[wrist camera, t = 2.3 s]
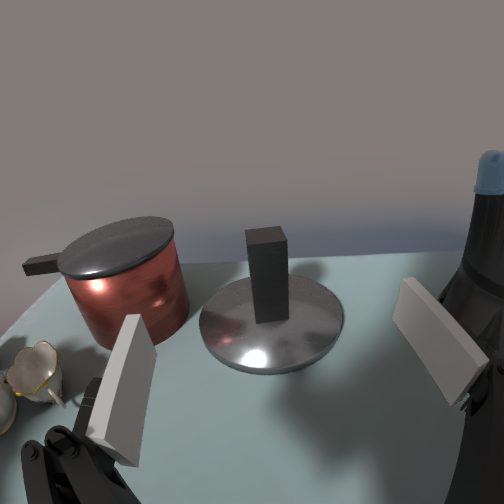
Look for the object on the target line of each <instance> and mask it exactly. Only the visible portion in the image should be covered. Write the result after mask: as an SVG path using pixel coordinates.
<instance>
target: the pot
mask: <svg viewBox="0 0 504 504" xmlns="http://www.w3.org/2000/svg"><path fill="white" fill-rule="evenodd" d="M173 237H174V228H173V224H172V222H171V221H169V220H168V219H165V218H162V217H151V216H149V217H137V218H131V219H126V220H122V221H118V222H114V223H111V224H108V225H105V226H103V227H100V228H98V229H95V230H93V231H91V232H89V233H87V234H85V235H83V236H81V237H80V238H78V239H77V240H75V241H74V242H72V243H71V244H70V245H68V246H67V247H66V248H65V249H64V250H63V251H62V252H61V253H55V254H49V255H44V256H38V257H34V258H29V259H28V260H27V261H26V262H25V263H24V264H23V265H22V267H23V269H24V271H25V274H26V276H32V275H40V274H48V273H56V272H60V273H61V274H62V275H63V276H64V277H65V280H66V282H67V284H68V287H69V289H70V291H71V293H72V295H73V298H74V300H75V302H76V304H77V306H78V308H79V310H80V312H81V314H82V316H83V318H84V320H85V322H86V324H87V326H88V328H89V330H90V332H91V333H92V335H93V337H94V339H95V340H96V342H97V343H98V344H99V345H101V346H102V347H104V348H106V349H108V350H111V351H113V348H114V345H115V343H116V340H117V337H118V335H119V332H120V330H121V327H122V325H123V322H124V320H125V318H126V315H132V314H141V316H142V319H143V321H144V324H145V326H146V329H147V331H148V334H149V336H150V338H151V341H152V343H153V345H154V346H155V345H157V344H159V343H161V342H163V341H164V340H166V339H167V338H169V337H170V336H171V335H173V334H174V333H175V332H176V331H177V330H178V329H179V328H180V327H181V326H182V325H183V323H184V322H185V320H186V318H187V316H188V313H189V308H190V304H189V299H188V296H187V292H186V288H185V284H184V280H183V276H182V272H181V268H180V264H179V260H178V256H177V251H176V247H175V243H174V238H173Z"/></svg>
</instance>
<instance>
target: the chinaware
mask: <svg viewBox="0 0 504 504" xmlns="http://www.w3.org/2000/svg"><path fill="white" fill-rule="evenodd" d="M59 360H60V355H59V354H58V352H57V350H55V349H54V348H53V347H52V346H51V345H50V343H48V342H46V341H41V342H38V343H37V344H36V345H35V346H34V349H33V347H26V348H23V349H22V350H19V352H18V353H17V354H16V356H15V359H14V366H11V367H10V368H9V369H8V370H7V373H6V377H5V376H4V374H3V372H2V371H1V370H0V436H1V435H3V434H5V433H6V432H7V431H8V430H9V429H10V428H11V426H12V425H13V423H14V421H15V418H16V415H17V409H18V405H17V400H16V397H15V395H14V393H15V394H16V395H17V396H25V397H26V398H28V399H29V400H31V401H34V402H39V403H44V402H49V403H53V404H55V402H56V403H57V404H60V405H61V406H62V407H63V408H66V405H65V404H64V403H63V402H62V399H61V398H60V397H61V396H63V395H62V390H61V387H62V371H61V368H60V365H59ZM13 392H14V393H13Z"/></svg>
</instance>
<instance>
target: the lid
mask: <svg viewBox="0 0 504 504" xmlns="http://www.w3.org/2000/svg"><path fill="white" fill-rule="evenodd" d="M245 235H246V245H247V254H248V264H249V273H250V277H247V278H244V279H240V280H238V281H235V282H233V283H231V284H229V285H227V286H225V287H223V288H221V289H220V290H219V291H217V292H216V293H215V294H214V295H212V296H211V297H210V298H209V300H208V301H207V302H206V303H205V305H204V307H203V308H202V311H201V313H200V318H199V327H200V332H201V335H202V339H203V342H204V344H205V346H206V348H207V349H208V351H209V352H210V353H211V354H212V355H213V356H214V357H215V358H216V359H217V360H219V361H220V362H221V363H223V364H225V365H226V366H228V367H230V368H233V369H235V370H238V371H241V372H245V373H249V374H256V375H278V374H285V373H290V372H294V371H297V370H300V369H303V368H305V367H307V366H310V365H312V364H314V363H315V362H317V361H318V360H320V359H321V358H322V357H324V356H325V355H326V354H327V353H328V352H329V351H330V350H331V349H332V347H333V346H334V345H335V343H336V341H337V339H338V337H339V334H340V330H341V324H342V310H341V306H340V304H339V302H338V300H337V298H336V297H335V296H334V295H333V294H332V292H331V291H329V290H328V289H327V288H326V287H324V286H323V285H321V284H319V283H317V282H315V281H313V280H310V279H307V278H304V277H300V276H295V275H289V274H288V250H287V249H288V247H287V239H286V237H285V235H284V233H283V231H282V229H281V227H280V226H276V227H267V228H258V229H250V230H245Z"/></svg>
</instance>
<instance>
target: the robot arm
mask: <svg viewBox="0 0 504 504" xmlns="http://www.w3.org/2000/svg"><path fill="white" fill-rule="evenodd" d="M474 192H475V201H474V207H473V212H472V218H471V223H470V228H469V233H468V237H467V241H466V246H465V250H464V254H463V258H462V262H461V265H460V267H459V268H458V270H457V271H456V273H455V274H454V276H453V277H452V279H451V280H450V282H449V283H448V285H447V286H446V287H445V289H444V290H443V292H442V293H441V294H440V296H439V298H438V300H436V299H435V298H434V297H433V296H432V295H431V294H430V293H429V292H428V291H427V290H426V289H425V288H424V287H423V286H422V285H421V284H420V283H419V282H418V281H417V280H416V279H415V278H414V277H409V278H404V279H402V283H401V287H400V291H399V295H398V299H397V303H396V307H395V311H394V314H393V318H392V320H393V321H394V323H395V324H396V325H397V327H398V328H399V330H400V331H401V332H402V334H403V335H404V336H405V338H406V339H407V341H408V342H409V344H410V345H411V346H412V348H413V349H414V351H415V352H416V354H417V355H418V357H419V358H420V359H421V361H422V362H423V364H424V365H425V367H426V368H427V370H428V371H429V373H430V375H431V376H432V378H433V379H434V381H435V382H436V384H437V385H438V387H439V389H440V390H441V392H442V393H443V395H444V397H445V398H446V400H447V401H448V403H449V405H450V406H453V405H454V404H456V403H458V402H459V401H461V400H462V399H463V398H464V397H465V395H466V394H467V393H469V395H470V397H469V398H468V399H467V400H466V402H465V403H464V404H463V405H462V407H461V409H460V411H462V410H463V409H464V408H465V406H466V405H467V408H466V409H465V411H466V418H465V425H464V431H463V437H462V442H461V447H460V452H459V456H458V461H457V465H456V469H455V472H454V476H453V480H452V483H451V486H450V489H449V492H448V495H447V498H446V501H445V504H504V151H497V150H496V151H495V150H490V151H487V152H485V153H484V154H483V155H482V156H481V158H480V160H479V166H478V174H477V181H476V185H475V186H474ZM156 357H157V352H156V350H155V348H154V345H153V343H152V341H151V338H150V336H149V334H148V331H147V329H146V326H145V324H144V321H143V319H142V316H141V314H132V315H126V318H125V320H124V322H123V325H122V327H121V330H120V332H119V335H118V337H117V340H116V343H115V345H114V348H113V351H112V353H111V356H110V359H109V362H108V364H107V367H106V370H105V373H104V376H103V378H93V380H92V381H91V382H90V383H89V385H88V386H87V388H86V391H85V394H84V398H83V399H82V402H81V406H80V408H79V412H78V415H77V418H76V421H75V424H74V428H73V431H72V432H71V431H70V430H69V429H68V428H66V427H64V426H60V425H58V426H54V427H52V428H51V429H50V430H48V432H47V434H46V435H45V440H44V442H45V446H42V445H41V444H40V443H39V442H37V441H35V440H30V441H27V442H26V443H25V444H24V445H23V447H22V449H21V461H22V470H23V478H24V484H25V490H26V496H27V501H28V504H141V503H140V501H139V500H138V499H137V497H136V496H135V495H134V493H133V492H132V491H131V489H130V488H129V487H128V485H127V484H126V482H125V481H124V479H123V478H122V477H121V475H120V474H119V472H118V471H117V469H116V468H115V467H114V463H115V461H117V462H118V463H119V464H121V465H124V466H130V467H137V468H138V466H139V458H140V450H141V442H142V435H143V428H144V422H145V416H146V410H147V404H148V398H149V392H150V387H151V382H152V377H153V372H154V367H155V362H156Z"/></svg>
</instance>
